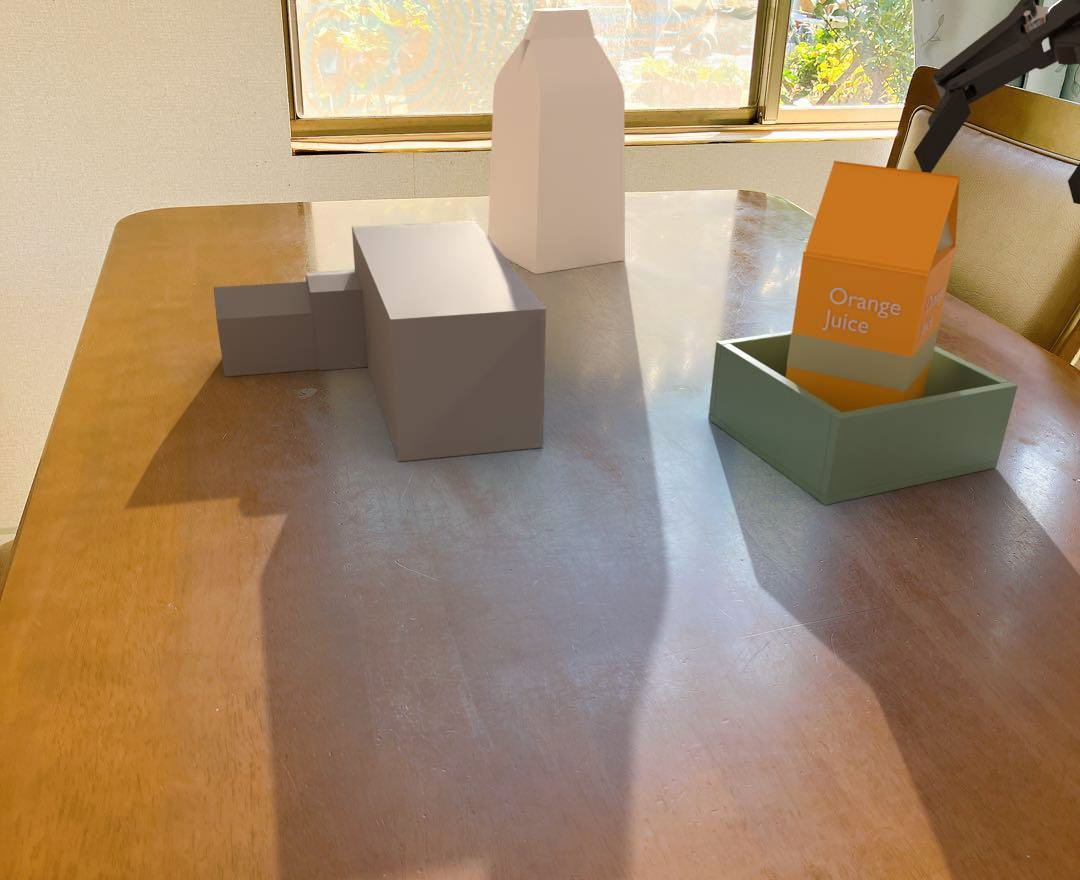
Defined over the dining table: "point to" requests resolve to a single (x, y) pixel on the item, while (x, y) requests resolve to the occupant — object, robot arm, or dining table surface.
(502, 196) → the milk
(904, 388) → the orange juice
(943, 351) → the crate
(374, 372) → the grey stepped block
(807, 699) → the dining table surface
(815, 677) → the dining table surface
